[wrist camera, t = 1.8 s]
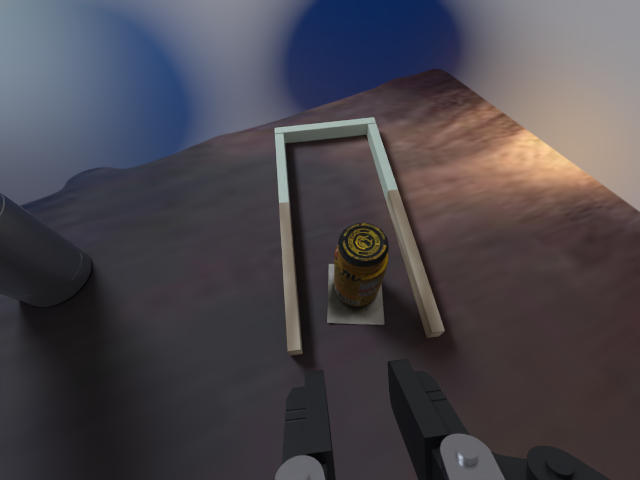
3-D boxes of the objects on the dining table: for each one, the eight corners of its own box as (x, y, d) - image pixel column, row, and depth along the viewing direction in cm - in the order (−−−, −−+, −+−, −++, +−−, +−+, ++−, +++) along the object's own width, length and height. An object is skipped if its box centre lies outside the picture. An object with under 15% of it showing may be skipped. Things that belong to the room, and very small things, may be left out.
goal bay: (281, 212, 49) (279, 203, 47) (276, 139, 58) (274, 128, 56) (395, 199, 50) (397, 189, 47) (372, 128, 59) (374, 117, 57)
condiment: (380, 265, 44) (394, 215, 33) (384, 325, 39) (402, 288, 29) (328, 264, 44) (327, 214, 34) (327, 323, 39) (325, 286, 29)
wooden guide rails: (290, 355, 37) (287, 351, 35) (281, 212, 49) (279, 203, 47) (438, 336, 38) (444, 330, 36) (395, 199, 50) (397, 189, 47)
